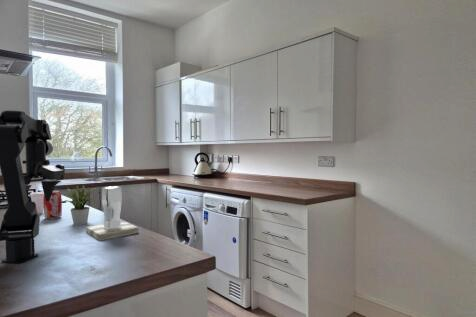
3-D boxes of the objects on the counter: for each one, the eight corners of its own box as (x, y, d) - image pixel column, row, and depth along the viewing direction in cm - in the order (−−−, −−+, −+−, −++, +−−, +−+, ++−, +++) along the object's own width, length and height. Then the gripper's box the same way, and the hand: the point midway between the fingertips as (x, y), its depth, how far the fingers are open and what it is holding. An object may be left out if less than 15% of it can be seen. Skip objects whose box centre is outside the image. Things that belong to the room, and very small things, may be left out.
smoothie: (28, 213, 154) (28, 184, 153) (43, 210, 158) (43, 182, 158) (32, 214, 149) (31, 185, 149) (48, 212, 154) (47, 183, 153)
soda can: (45, 220, 138) (44, 193, 138) (42, 217, 144) (41, 191, 143) (63, 218, 143) (63, 191, 142) (60, 215, 148) (59, 189, 148)
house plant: (103, 224, 130) (102, 185, 130) (65, 229, 123) (63, 187, 122) (97, 218, 142) (96, 181, 142) (62, 222, 135) (61, 183, 134)
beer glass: (115, 224, 123) (115, 185, 123) (126, 227, 119) (125, 187, 118) (98, 227, 118) (97, 187, 117) (108, 230, 114) (107, 189, 113)
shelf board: (138, 232, 118) (138, 227, 118) (99, 240, 109) (99, 234, 109) (123, 225, 129) (123, 220, 129) (86, 232, 119) (86, 226, 119)
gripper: (33, 158, 96) (35, 210, 96) (76, 156, 114) (77, 199, 115) (2, 158, 98) (4, 208, 99) (49, 156, 116) (50, 198, 117)
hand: (37, 203), depth 107 cm, fingers open, 9 cm apart
